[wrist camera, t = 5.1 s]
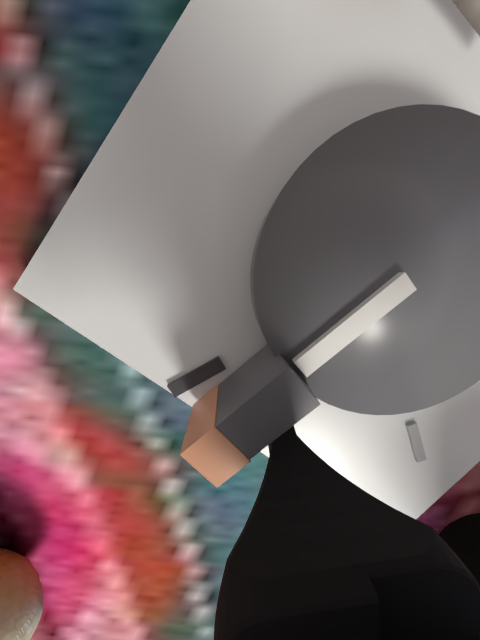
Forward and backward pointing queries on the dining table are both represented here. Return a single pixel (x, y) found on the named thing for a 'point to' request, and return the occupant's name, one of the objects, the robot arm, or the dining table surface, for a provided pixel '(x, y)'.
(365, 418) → the board
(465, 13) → the screwdriver
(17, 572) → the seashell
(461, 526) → the cup
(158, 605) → the dining table surface
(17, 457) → the dining table surface
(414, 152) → the grey handled disc
